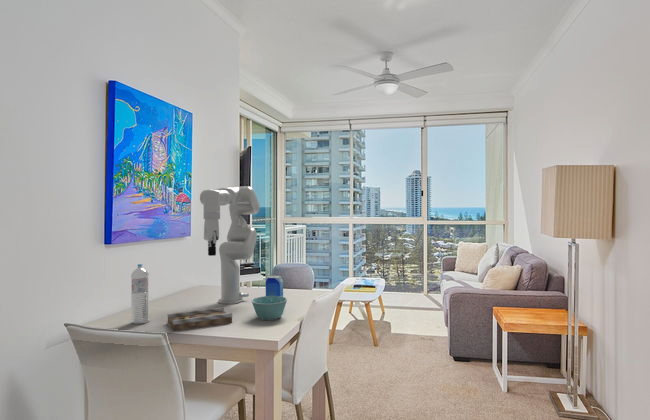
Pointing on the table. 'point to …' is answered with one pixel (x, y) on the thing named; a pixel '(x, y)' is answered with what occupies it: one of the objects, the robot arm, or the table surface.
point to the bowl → (269, 307)
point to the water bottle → (139, 296)
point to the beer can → (274, 286)
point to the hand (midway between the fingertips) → (212, 255)
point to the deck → (199, 318)
